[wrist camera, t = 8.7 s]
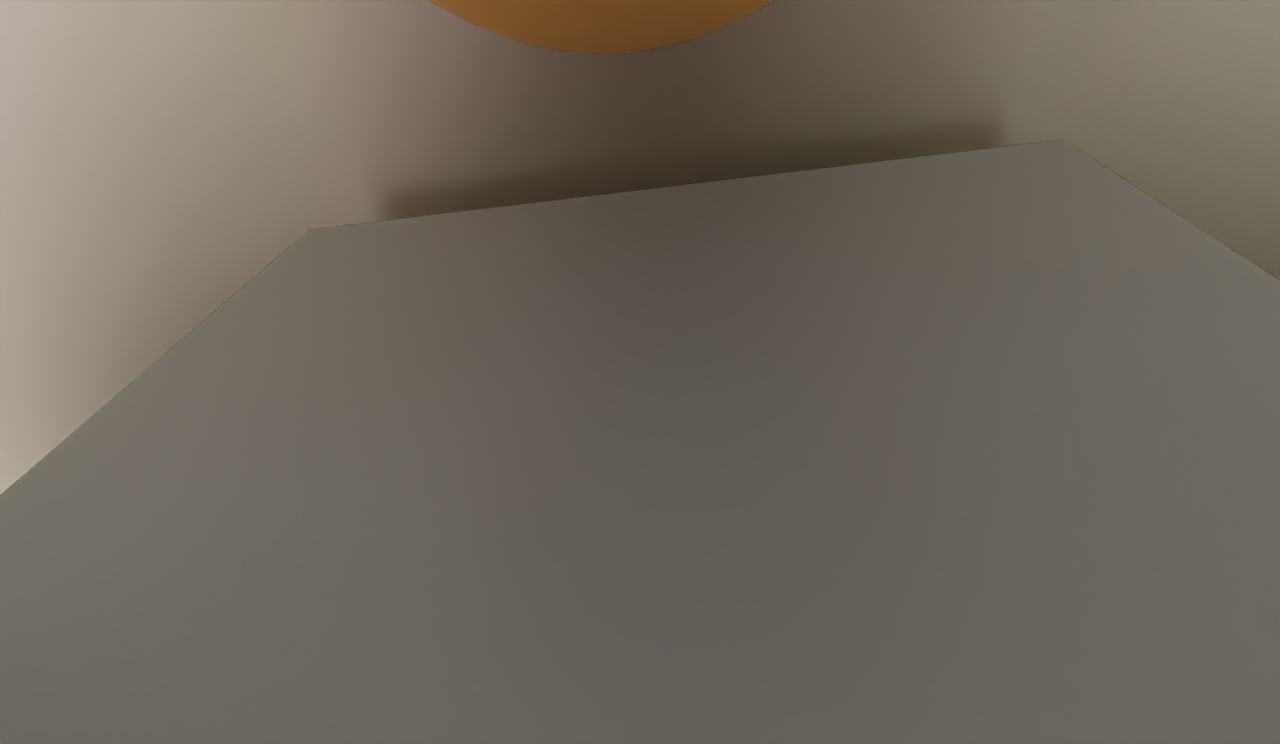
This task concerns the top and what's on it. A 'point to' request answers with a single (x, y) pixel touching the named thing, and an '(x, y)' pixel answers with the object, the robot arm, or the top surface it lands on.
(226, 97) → the top surface
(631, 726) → the grey block
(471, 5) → the ball
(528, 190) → the top surface
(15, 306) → the top surface
